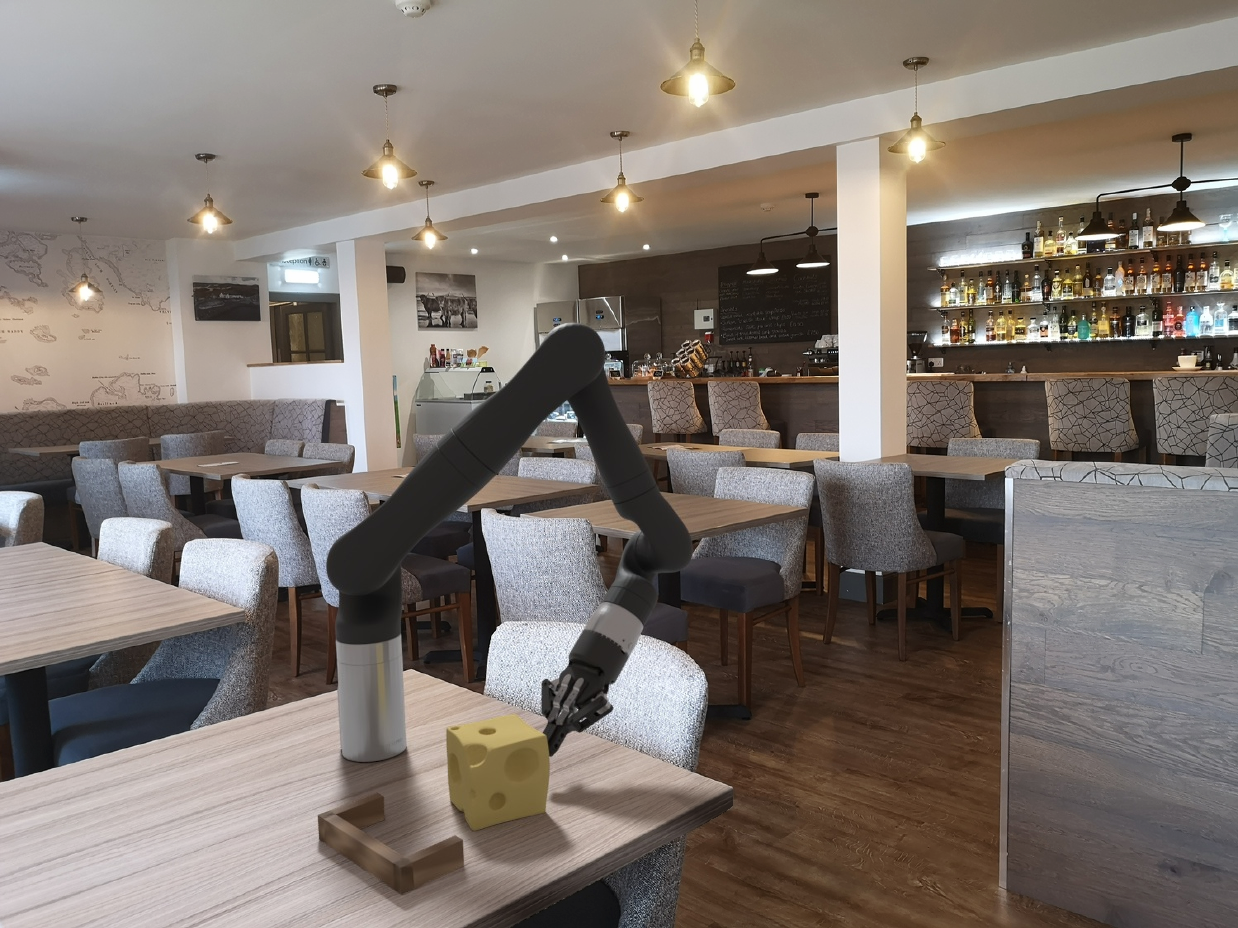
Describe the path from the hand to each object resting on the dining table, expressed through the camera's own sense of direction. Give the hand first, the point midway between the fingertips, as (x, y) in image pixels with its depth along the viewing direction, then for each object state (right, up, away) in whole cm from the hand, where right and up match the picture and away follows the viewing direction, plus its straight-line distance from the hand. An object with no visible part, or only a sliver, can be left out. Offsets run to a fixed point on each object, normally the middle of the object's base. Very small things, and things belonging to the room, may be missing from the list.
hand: (543, 752), depth 123 cm
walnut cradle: (-17, -6, -17) cm, 24 cm away
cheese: (-5, -5, -5) cm, 9 cm away
